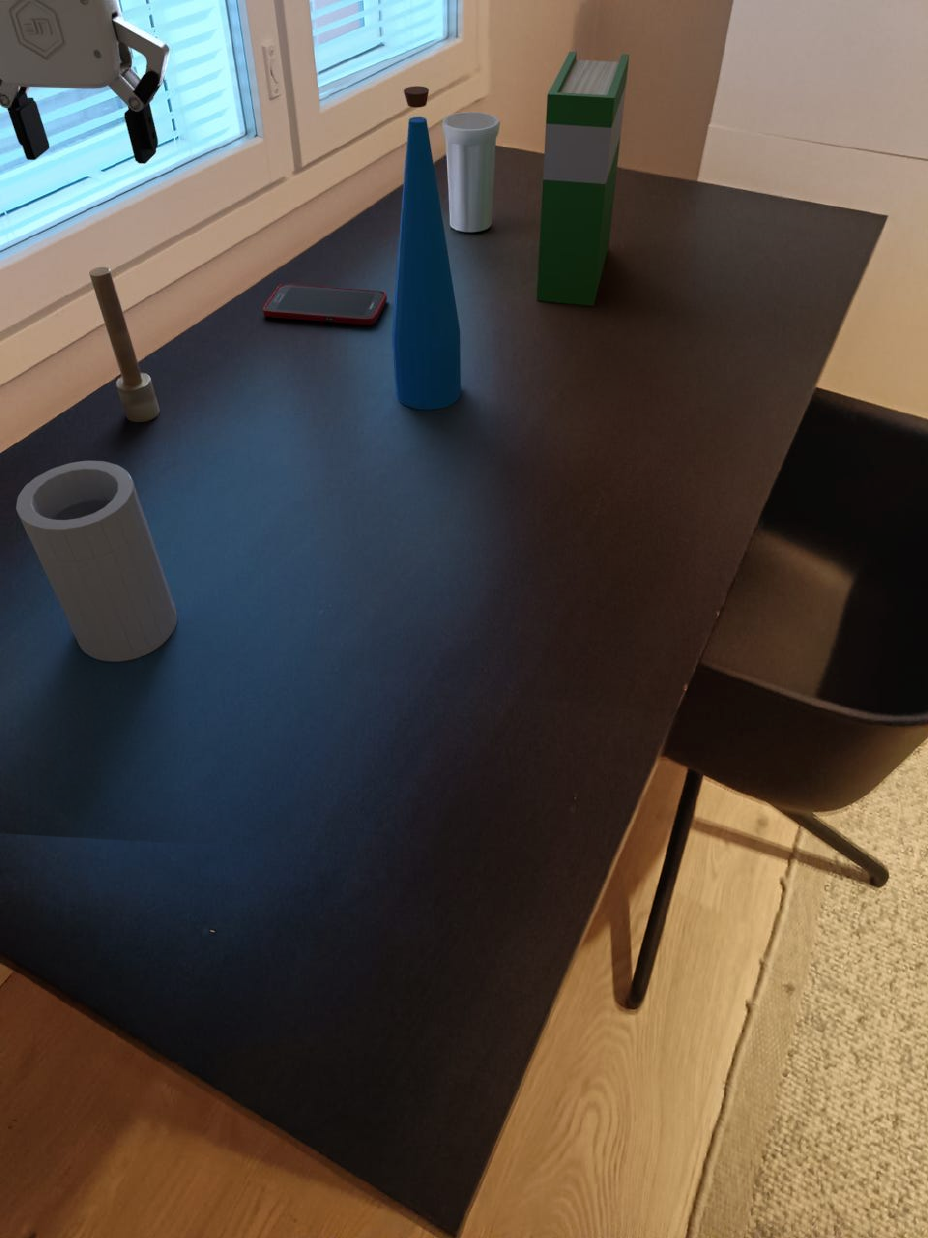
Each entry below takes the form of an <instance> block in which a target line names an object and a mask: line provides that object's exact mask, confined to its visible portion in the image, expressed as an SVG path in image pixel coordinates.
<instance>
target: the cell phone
mask: <svg viewBox="0 0 928 1238" xmlns="http://www.w3.org/2000/svg"><path fill="white" fill-rule="evenodd" d="M387 297H388V296H387V293H386V292H385V291H380V290H370V289H354V288H346V287H345V288H343V287H331V286H330V287H329V286H317V285H304V284H293V283H283V284H280V285H278V286H277V288H276V289H275V290H274V292H273V293H272V294H271V296H270V297H269V299H268V300H267V302H266V303H265V304H264V306H263V307H262V314H263V316H264V317H267V318H273V319H285V320H286V319H287V320H298V321H309V322H310V321H311V322H322V323H323V322H324V323H333V324H335V323H336V324H347V325H357V326H358V325H359V326H360V325H361V326H372V325H374V324H375V323H376V322H377V320H378V318H379V317H380V314H381V313H382V310H383V309H384V307H385V304H386V303H387V299H388V298H387Z"/></svg>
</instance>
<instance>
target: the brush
mask: <svg viewBox="0 0 928 1238" xmlns="http://www.w3.org/2000/svg"><path fill="white" fill-rule="evenodd" d="M88 274H89V277H90V281H91V284H92V288H93V290H94V294H95V296H96V300H97V303H98V306H99V310H100V312H101V315H102V319H103V323H104V324H105V329H106V332H107V335H108V338H109V341H110V344H111V347H112V349H113V350H112V351H113V353H114V357H115V360H116V363H117V367H118V369H119V372H120V377H119V378H118V379H117V380H116V381H115V386H116V389H117V392H118V396H119V398H120V401H121V405H122V408H123V411H124V415H125V417H126V418H127V420H128V421H130V422H133V423H145V422H148V421H152V420H153V419H156V418H157V416H159V414H160V410H161V409H160V407H159V402H158V399H157V396H156V392H155V388H154V385H153V381H152V378H151V377H150V375H148V373H145V372H141V368H140V365H139V362H138V359H137V355H136V351H135V348H134V344H133V342H132V338H131V335H130V330H129V328H128V325H127V321H126V318H125V315H124V312H123V308H122V305H121V300H120V297H119V295H118V292H117V291H118V290H117V288H116V284H115V281H114V278H113V274H112V271H111V268H109V267H107V266H97V267H94V268H92V269H91V270H89V272H88Z"/></svg>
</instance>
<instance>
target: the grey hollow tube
mask: <svg viewBox="0 0 928 1238" xmlns="http://www.w3.org/2000/svg"><path fill="white" fill-rule="evenodd" d="M15 510H16V512H17V514H18V517H19V519H20V521H21V523H22V525H23V528H24V530H25V532H26V534H27V536H28V538H29V541H30V543H31V545H32V547H33V549H34V552H35V553H36V555H37V558H38V560H39V562H40V564H41V567H42V569H43V571H44V573H45V575H46V578H47V579H48V581H49V584H50V586H51V588H52V591H53V592H54V594H55V597H56V599H57V600H58V603H59V605H60V608H61V609H62V611H63V613H64V616H65V618H66V620H67V622H68V624H69V626H70V629H71V631H72V633H73V635H74V637H75V640H76V641H77V644H78V646H79V647H80V649H81V650H82V651H83V652H84V653H85V654H86V655H87V656H89V657H91V658H93V659H95V660H98V661H103V662H111V663H116V662H117V663H119V662H126V661H127V662H128V661H131V660H135V659H139V658H141V657H144V656H146V655H148V654H150V653H152V652H153V651H156V650H157V649H158V648H160V647H162V645H163V644H164V643H166V641H167V640H169V638H170V637H171V636H172V634H173V633H174V631H175V629H176V626H177V622H178V613H177V609H176V605H175V601H174V598H173V595H172V593H171V590H170V587H169V584H168V581H167V578H166V575H165V572H164V569H163V566H162V562H161V560H160V557H159V554H158V551H157V548H156V545H155V542H154V540H153V539H154V538H153V536H152V533H151V530H150V528H149V523H148V522H147V518H146V515H145V513H144V509H143V506H142V504H141V500H140V497H139V494H138V491H137V489H136V486H135V483H134V479H133V478H132V477H131V474H130V473H129V472H128V470H126V469H124V468H123V467H122V466H120V465H118V464H115V463H112V462H108V461H104V460H83V461H75V462H69V463H65V464H63V465H60V466H55V467H53V468H50V469H49V470H47V471H44V472H43V473H41V474H39V475H37V476H35V477H34V478H33V479H31V480H30V481H29V482H28V483H26V484H25V486H24V487H23V489H22V490H21V491H20V493H19V495H18V496H17V498H16V505H15Z"/></svg>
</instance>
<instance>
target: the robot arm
mask: <svg viewBox="0 0 928 1238" xmlns="http://www.w3.org/2000/svg"><path fill="white" fill-rule="evenodd" d="M131 49H132V50H134V51H136V52H137V53H139V54H141V55H142V56H143V57H144V58H145V62H146V63H145V64H146V65H145V71H144V74H143V75H142V77H140V75H139V74H138V73H137V72H136V71H135V70H134V69H133V55H132V54H133V53H132V50H131ZM170 52H171V49H170V47H169V45H168V44H167V43H166V42H164V41H163V40H161V39H159V38H157V37H156V36H154V35H152V34H150V33H148V32H147V31H145V30H143V29H142V28H140V27H138V26H136V25H134V24H133V23H131V22H129V21H127V20H126V19H124V18H123V15H122V11H121V8H120V4H119V0H0V106H1V107H2V108H4V109H6V110H7V112H8V115H9V118H10V121H11V124H12V127H13V130H14V132H15V133H14V134H15V136H16V139H17V141H18V143H19V145H20V146H22V149H23V152H24V156H25V158H26V159H27V160H28V161H36V160H37V159H38V158H39V157H40V156H42V155H43V154H44V153H45V152H47V151H48V150H49V149H50V143H49V139H48V136H47V133H46V130H45V127H44V123H43V120H42V117H41V114H40V110H39V108H38V104H37V101H35V99H34V97H29V96H28V91H29V89H30V88H41V89H83V90H85V89H86V90H87V89H89V90H90V89H91V90H93V89H103V88H106V87H109V88H110V89H111V90H112V92H113V93H115V94H116V96H117V97H118V98H119V99H120V100H121V101H122V102H123V103H124V104H125V105H126V106H127V110H126V111H125V112H124V115H123V117H124V121H125V126H126V129H127V133H128V137H129V141H130V145H131V148H132V153H133V156H134V160H135V162H137V164H144V165H145V164H147V163H148V162H149V160H150V159H152V157H153V156H155V154H156V153H157V148H158V145H159V138H158V133H157V130H156V126H155V122H154V121H155V120H154V117H153V116H154V115H153V113H152V108H151V105H150V103H151V102H152V101H153V100H154V97H155V96H156V94H157V92H158V91H159V90H160V88H161V86H162V85H163V83H164V82H165V74H166V71H167V67H168V63H169V57H170Z"/></svg>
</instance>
